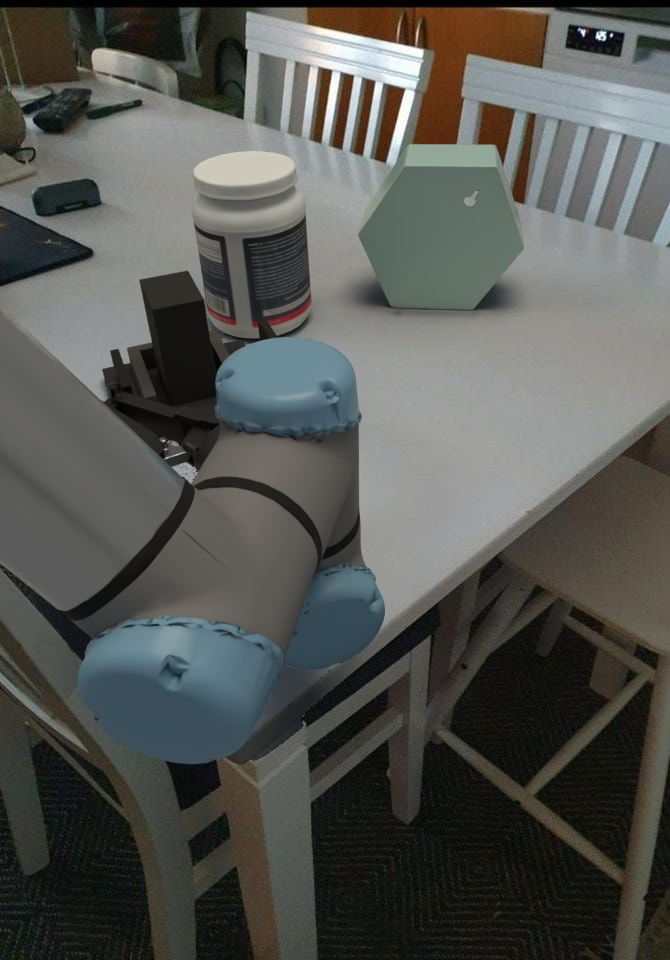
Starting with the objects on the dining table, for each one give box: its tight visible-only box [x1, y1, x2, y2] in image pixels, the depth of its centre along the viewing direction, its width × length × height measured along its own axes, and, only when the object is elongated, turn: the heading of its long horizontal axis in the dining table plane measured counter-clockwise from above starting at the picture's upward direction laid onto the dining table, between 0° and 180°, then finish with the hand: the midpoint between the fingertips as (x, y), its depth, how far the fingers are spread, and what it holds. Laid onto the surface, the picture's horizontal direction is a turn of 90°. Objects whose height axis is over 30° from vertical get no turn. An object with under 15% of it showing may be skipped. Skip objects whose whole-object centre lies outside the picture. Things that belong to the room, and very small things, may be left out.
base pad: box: [101, 329, 246, 441], centre depth 86 cm, size 16×14×4 cm
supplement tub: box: [191, 150, 313, 339], centre depth 94 cm, size 13×13×18 cm
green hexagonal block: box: [357, 143, 525, 311], centre depth 98 cm, size 17×8×21 cm, turn 81°
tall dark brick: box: [138, 270, 216, 406], centre depth 82 cm, size 5×7×11 cm
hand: (191, 346), depth 74 cm, fingers open, 13 cm apart
